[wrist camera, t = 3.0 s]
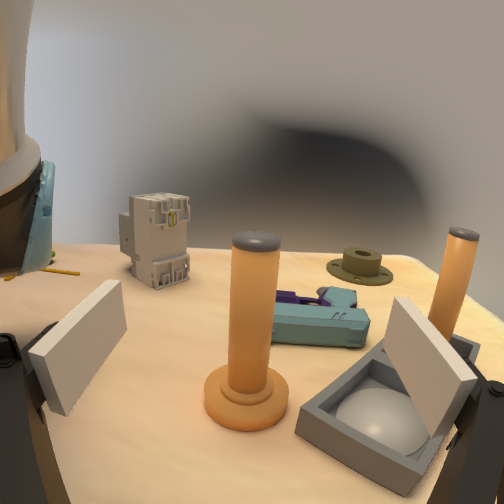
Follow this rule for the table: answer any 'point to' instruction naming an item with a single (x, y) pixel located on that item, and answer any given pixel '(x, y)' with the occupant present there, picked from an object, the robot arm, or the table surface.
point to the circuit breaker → (156, 238)
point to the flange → (360, 268)
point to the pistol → (320, 319)
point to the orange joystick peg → (249, 340)
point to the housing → (374, 421)
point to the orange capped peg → (453, 279)
